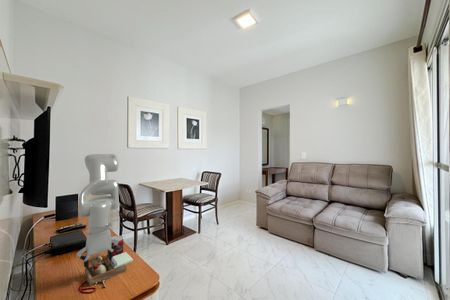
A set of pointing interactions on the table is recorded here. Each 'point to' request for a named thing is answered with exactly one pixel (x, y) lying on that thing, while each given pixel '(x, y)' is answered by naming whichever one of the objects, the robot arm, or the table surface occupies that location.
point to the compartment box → (110, 273)
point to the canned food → (119, 247)
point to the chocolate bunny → (98, 266)
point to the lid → (120, 260)
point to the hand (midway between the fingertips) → (99, 263)
